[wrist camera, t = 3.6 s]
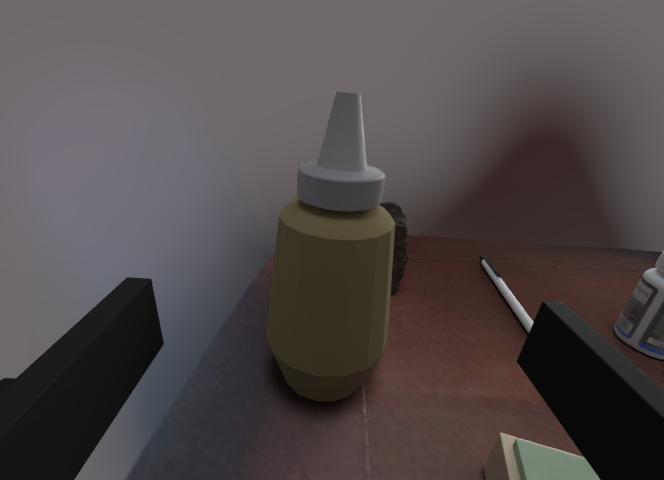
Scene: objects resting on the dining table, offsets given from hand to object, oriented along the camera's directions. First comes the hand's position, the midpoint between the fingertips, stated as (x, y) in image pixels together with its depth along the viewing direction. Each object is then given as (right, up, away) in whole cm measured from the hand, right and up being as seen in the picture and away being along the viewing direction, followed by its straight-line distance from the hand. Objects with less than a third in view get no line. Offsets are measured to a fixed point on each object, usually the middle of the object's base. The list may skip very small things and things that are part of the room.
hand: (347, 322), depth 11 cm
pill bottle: (+27, -6, +17) cm, 33 cm away
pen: (+18, -4, +21) cm, 28 cm away
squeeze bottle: (-1, -7, +12) cm, 14 cm away
